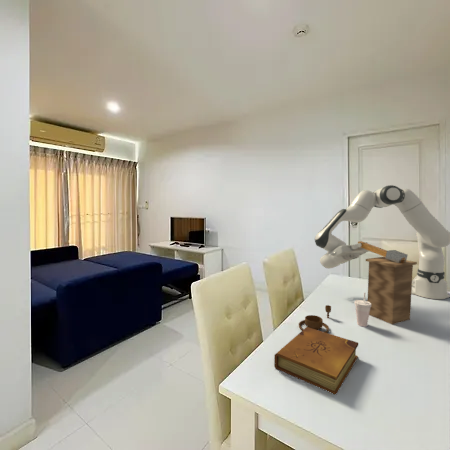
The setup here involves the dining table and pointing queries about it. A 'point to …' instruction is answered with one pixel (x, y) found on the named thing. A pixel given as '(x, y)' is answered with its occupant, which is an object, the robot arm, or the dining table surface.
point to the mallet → (386, 253)
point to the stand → (390, 289)
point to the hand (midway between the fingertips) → (364, 244)
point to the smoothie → (362, 311)
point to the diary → (318, 358)
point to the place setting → (316, 321)
